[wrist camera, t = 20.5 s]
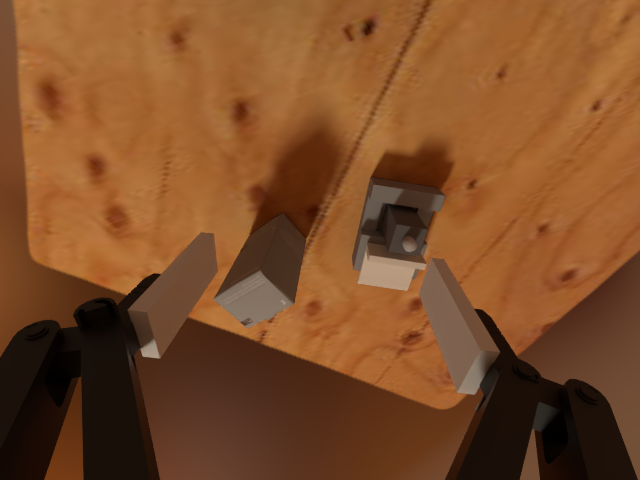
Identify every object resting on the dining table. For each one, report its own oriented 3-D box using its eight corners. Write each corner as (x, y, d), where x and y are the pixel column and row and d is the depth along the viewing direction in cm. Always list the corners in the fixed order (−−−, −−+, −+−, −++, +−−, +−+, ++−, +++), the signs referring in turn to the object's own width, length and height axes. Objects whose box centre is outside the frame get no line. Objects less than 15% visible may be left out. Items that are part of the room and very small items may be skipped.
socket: (370, 177, 41) (373, 184, 38) (436, 187, 41) (445, 196, 38) (352, 256, 48) (353, 269, 44) (409, 265, 48) (414, 279, 44)
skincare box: (283, 210, 45) (258, 262, 30) (310, 242, 47) (298, 305, 33) (245, 237, 47) (206, 296, 33) (272, 266, 50) (246, 333, 36)
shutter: (366, 242, 41) (369, 255, 38) (419, 250, 42) (426, 264, 38) (357, 280, 45) (359, 295, 41) (406, 287, 45) (411, 303, 41)
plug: (386, 202, 42) (399, 229, 33) (412, 207, 42) (431, 234, 34) (380, 226, 44) (390, 257, 35) (404, 230, 44) (421, 262, 35)
